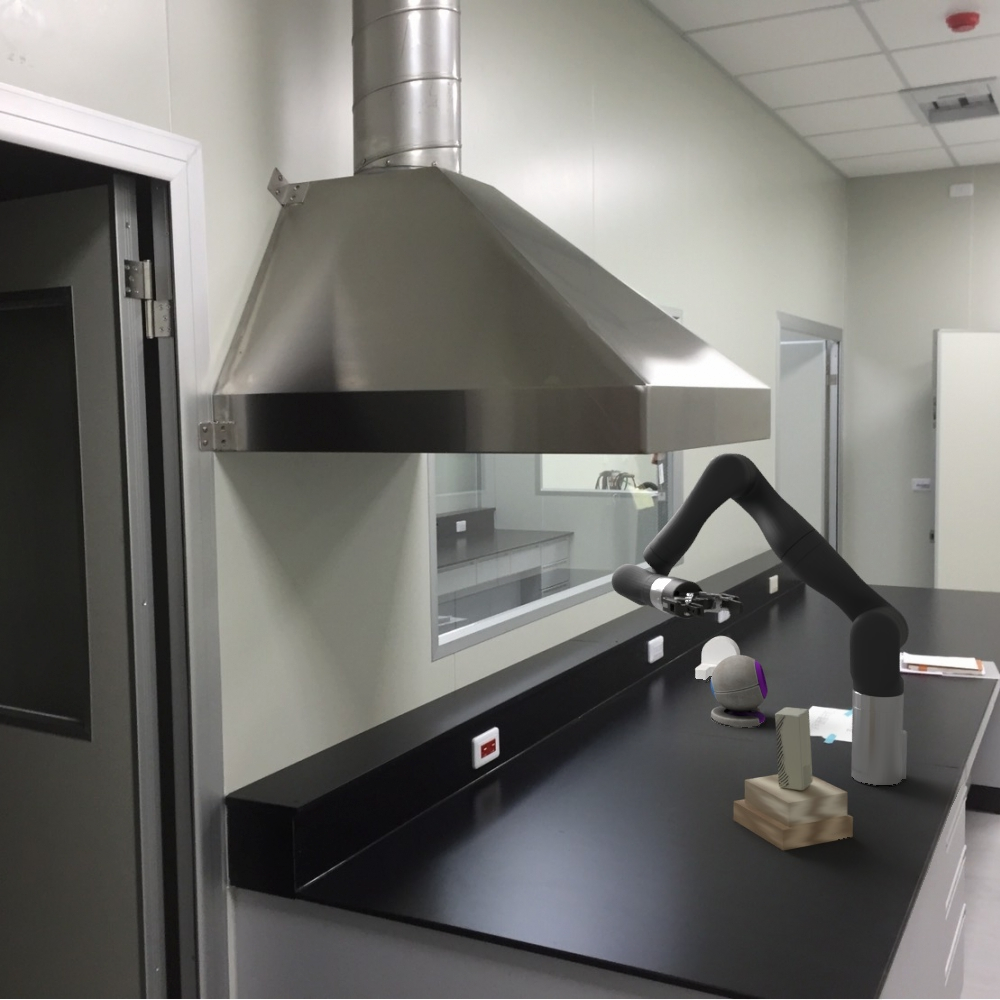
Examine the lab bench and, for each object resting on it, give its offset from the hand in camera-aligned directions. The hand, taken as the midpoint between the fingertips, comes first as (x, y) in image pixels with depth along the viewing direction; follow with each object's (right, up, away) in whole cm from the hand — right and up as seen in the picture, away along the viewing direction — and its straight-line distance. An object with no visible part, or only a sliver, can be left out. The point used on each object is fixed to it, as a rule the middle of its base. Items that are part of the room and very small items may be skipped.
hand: (722, 610), depth 198 cm
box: (+9, -28, -18) cm, 35 cm away
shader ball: (+14, -30, +47) cm, 58 cm away
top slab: (+9, -32, -18) cm, 38 cm away
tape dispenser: (+18, -27, +87) cm, 93 cm away
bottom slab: (+8, -36, -17) cm, 41 cm away
